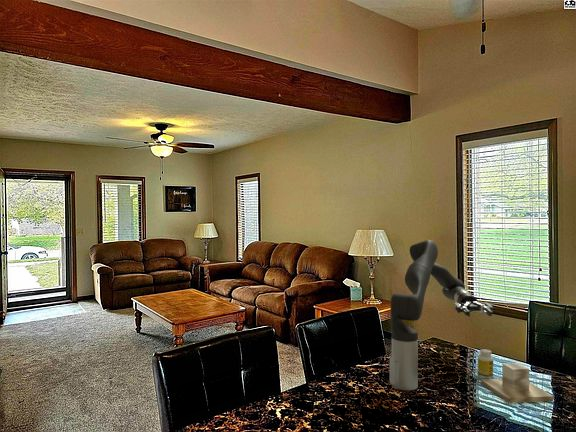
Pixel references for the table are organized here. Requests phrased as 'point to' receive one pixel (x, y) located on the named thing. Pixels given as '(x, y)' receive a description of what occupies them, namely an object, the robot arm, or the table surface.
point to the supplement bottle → (485, 364)
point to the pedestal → (516, 385)
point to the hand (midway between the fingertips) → (479, 314)
